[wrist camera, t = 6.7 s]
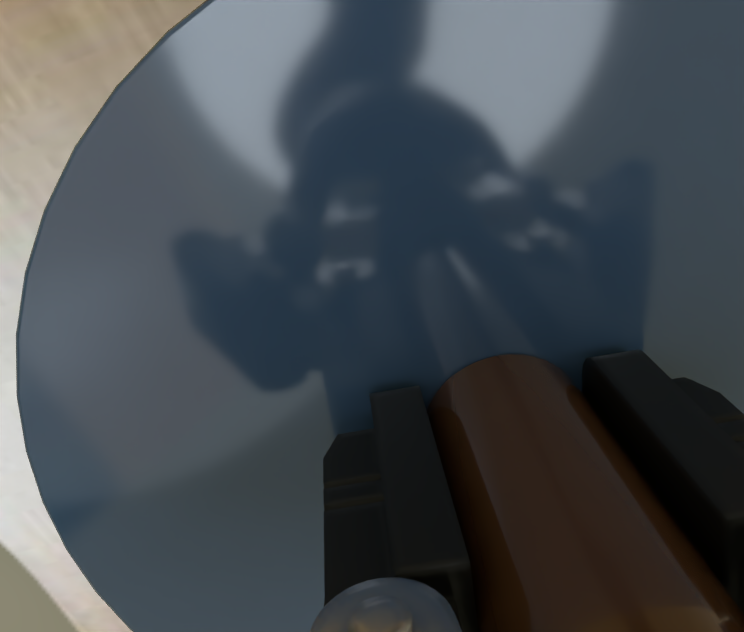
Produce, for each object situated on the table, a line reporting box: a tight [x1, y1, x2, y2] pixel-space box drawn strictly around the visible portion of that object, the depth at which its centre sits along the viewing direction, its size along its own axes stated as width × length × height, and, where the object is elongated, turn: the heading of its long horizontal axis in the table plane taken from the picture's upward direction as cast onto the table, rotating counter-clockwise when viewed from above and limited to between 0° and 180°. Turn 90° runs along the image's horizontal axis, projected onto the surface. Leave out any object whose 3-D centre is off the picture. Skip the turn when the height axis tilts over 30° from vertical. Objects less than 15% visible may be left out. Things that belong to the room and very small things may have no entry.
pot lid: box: [16, 0, 744, 632], centre depth 8 cm, size 14×14×6 cm
